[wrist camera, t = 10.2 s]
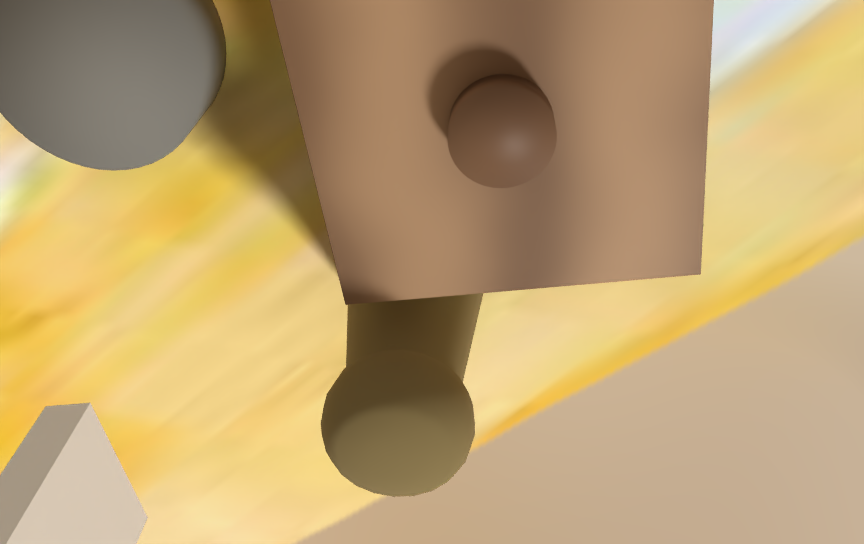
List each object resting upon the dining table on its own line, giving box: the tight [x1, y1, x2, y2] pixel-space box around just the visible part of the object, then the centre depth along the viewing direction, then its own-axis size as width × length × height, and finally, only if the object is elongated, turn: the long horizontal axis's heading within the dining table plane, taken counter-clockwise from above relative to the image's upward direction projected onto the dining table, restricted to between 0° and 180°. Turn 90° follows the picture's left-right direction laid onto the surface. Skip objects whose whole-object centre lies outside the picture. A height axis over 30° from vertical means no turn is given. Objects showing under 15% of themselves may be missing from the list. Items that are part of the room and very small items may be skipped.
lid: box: [270, 0, 714, 305], centre depth 23 cm, size 12×12×4 cm
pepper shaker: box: [321, 293, 483, 497], centre depth 30 cm, size 6×6×11 cm
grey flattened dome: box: [0, 0, 226, 170], centre depth 28 cm, size 8×8×3 cm
